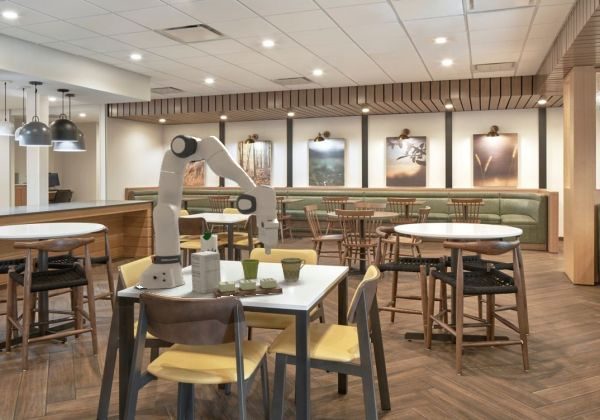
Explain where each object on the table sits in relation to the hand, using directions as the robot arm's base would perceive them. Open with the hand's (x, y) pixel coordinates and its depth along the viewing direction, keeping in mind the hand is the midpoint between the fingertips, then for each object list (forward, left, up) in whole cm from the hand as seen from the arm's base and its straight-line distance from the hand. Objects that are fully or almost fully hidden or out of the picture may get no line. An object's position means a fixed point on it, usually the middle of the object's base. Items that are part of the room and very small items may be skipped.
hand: (268, 254), depth 216 cm
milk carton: (-16, +73, -17) cm, 76 cm away
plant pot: (-1, +33, -17) cm, 36 cm away
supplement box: (-25, +13, -17) cm, 33 cm away
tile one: (-18, 0, -14) cm, 23 cm away
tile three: (0, 0, -14) cm, 14 cm away
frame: (-9, 0, -16) cm, 19 cm away
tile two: (-9, 0, -14) cm, 17 cm away
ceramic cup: (+18, +21, -17) cm, 32 cm away
